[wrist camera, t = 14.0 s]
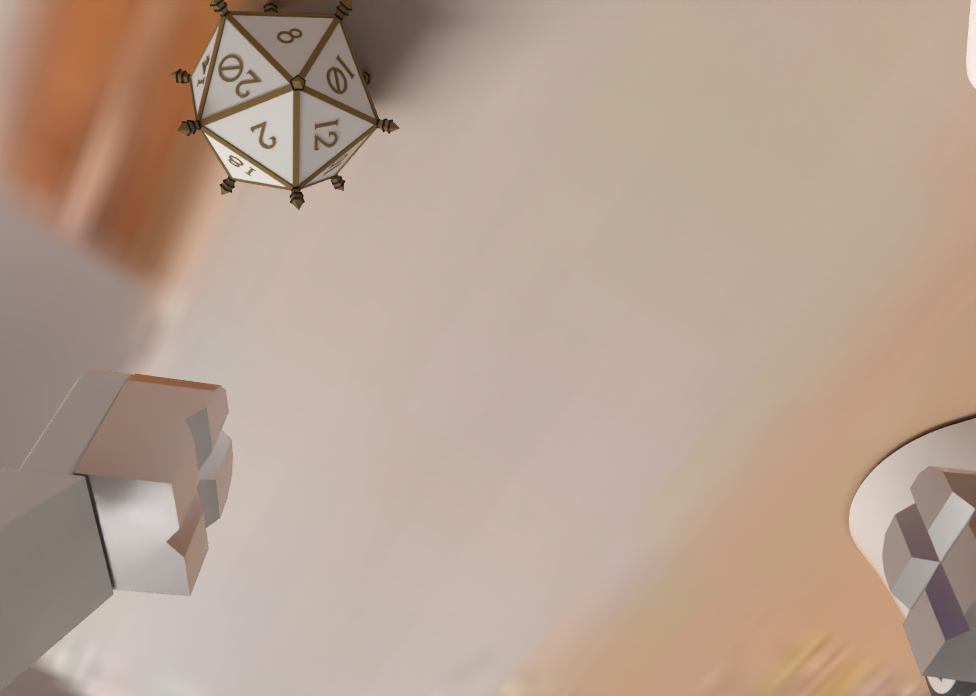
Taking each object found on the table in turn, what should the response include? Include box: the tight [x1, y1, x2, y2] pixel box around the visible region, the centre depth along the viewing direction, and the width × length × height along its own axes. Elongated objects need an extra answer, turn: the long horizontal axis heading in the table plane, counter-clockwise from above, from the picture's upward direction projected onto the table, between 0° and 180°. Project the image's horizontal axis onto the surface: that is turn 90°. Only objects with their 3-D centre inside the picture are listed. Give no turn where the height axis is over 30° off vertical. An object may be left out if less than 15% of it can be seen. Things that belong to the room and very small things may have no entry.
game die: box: [171, 0, 399, 210], centre depth 37 cm, size 9×8×10 cm
